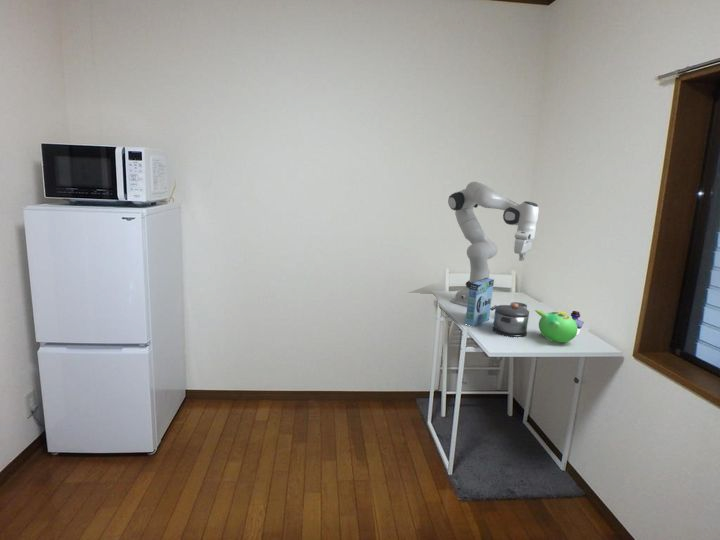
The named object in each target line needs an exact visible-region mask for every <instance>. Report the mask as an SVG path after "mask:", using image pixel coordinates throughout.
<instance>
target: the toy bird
mask: <svg viewBox="0 0 720 540" xmlns="http://www.w3.org/2000/svg"><path fill="white" fill-rule="evenodd" d="M534 311H535V312H536V313H537V314H538V315H539V317H540V319H539V321H538V329H539V332H540V333H541V335H543V337H545V338H546V339H548V340H549V341H552V342H555V343H567V342H570V341H572V340H574V338H575V337H576V334H577V331H578V329H577V325H576V323H575V321H574V320H573V319H572V316H571V315H568V314H567V311H551V312H548V313H547V312H545V311H542V310H538V309H535V310H534Z"/></svg>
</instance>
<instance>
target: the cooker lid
mask: <svg viewBox="0 0 720 540" xmlns="http://www.w3.org/2000/svg"><path fill="white" fill-rule="evenodd" d="M511 303H512V302H511ZM494 310H495V311H496V312H497V313H499V314H501V315H504V316H509V317H517V318H523V317H528V316H530V311H529V309H527V310H526V309H524V308H521V307H518V304H516V303H512V306H511V305H510V304H509V305H508V304H499V305H497V304H496V305H495V304H494V305H493V306H491V307H490V312H491V311H494ZM495 311H494V312H495ZM528 318H529V317H528Z"/></svg>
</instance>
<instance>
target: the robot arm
mask: <svg viewBox="0 0 720 540" xmlns="http://www.w3.org/2000/svg"><path fill="white" fill-rule="evenodd" d="M447 203H448V206H449V208H450V209H451V210H452V211H454V213H455V218H456V221H457V223H458V226H459V228H460V230H461V232H462V234H463V237H464V238H465V239H466V240H467V241H468V242H469V243H470V244H471V245H469V246H468V247H467V249H466V256H467V258H468V259H469V264H470V274H469V280H467V281H466V283H465V287H463V288H461V289H460V290H457V292H456V293H455V295H454V297H453V298H452V299H450V303H452V304H456V305H459V306H463V307H466V308H467V303H468V295H469V287H470V283H471V282H475V281H478V280H481V279H484V278H490V269H489V266H488V260H490V259H492V258H494V257H495V256H497V254H498V245H497V244H495V242H493V241H492V239H490V237H489V236H488V235H487V234H486V233H485V231H484V229H483V228H482V226H481V224H480V221H478V219H477V216H476V215H475V213H474V208H476V209H477V208H478V206H480V207H481V208H485V209H493V210H495V209H496V210H501V211H503V213H502V214H503V215H502V218H503V221H504V223H506V224H507V225H510V226H517V228H516V229H517V230H516V232H515V234H514V238H515V240H514V246H513V247H514V248H513V252H514V254H518V257H519V258H518V261H519V262H523V261H524V260H525V256H526V254H527V253H528V252H530V251H532V247H533V240H534V239H535V237H536V231H537V223H538V219H539V211H540V207H539V205H538V204H537V203H536V202H532V201H526V200H525V201H523V202H522V203H520V204H518V203H517V202H514V201H512V200H511V199H508V198H506V197H504V196H503V195H502V194H500V193H498V192H497V191H495V190H493V188H490V187H488V186H487V185H485V184H483V183H480V182H477V181H471V182H469V183H468V184H467V185H466V187H465V188H463V189H461V190H460V191H456V192H453V193H451V194H450V195H449V196H448V202H447Z"/></svg>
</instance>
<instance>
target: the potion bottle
mask: <svg viewBox="0 0 720 540" xmlns="http://www.w3.org/2000/svg"><path fill="white" fill-rule="evenodd" d="M570 317H571V318H572V319H573V320H574V321H575V323H576V325H577V329H578V331H577V334H576V335H578V336H579V333H580V331H581V329H582V327H583V325H584V321H583V320H581V319H579V318H580V317H581V314H580V311H577V310H572V312H570Z"/></svg>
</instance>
